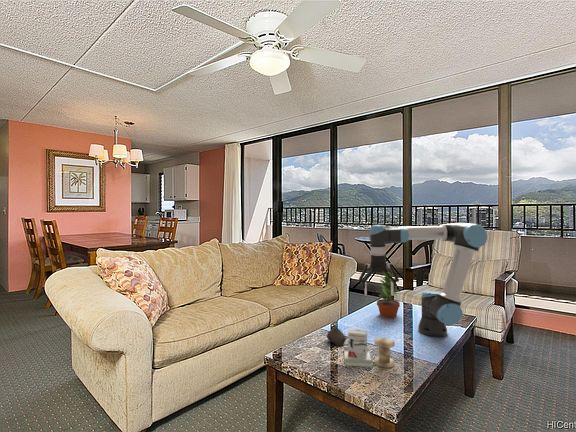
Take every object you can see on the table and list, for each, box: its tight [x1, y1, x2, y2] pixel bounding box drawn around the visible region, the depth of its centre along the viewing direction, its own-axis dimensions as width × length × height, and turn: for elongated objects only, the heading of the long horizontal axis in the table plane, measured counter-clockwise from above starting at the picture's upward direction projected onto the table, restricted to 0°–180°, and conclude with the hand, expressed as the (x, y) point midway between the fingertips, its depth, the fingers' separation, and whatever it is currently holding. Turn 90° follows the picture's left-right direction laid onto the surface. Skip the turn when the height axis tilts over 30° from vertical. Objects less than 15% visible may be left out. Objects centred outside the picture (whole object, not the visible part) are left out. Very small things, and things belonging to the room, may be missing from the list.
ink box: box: [347, 328, 368, 359], centre depth 154 cm, size 8×5×12 cm, turn 73°
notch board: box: [343, 345, 373, 368], centre depth 154 cm, size 12×15×3 cm
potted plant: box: [376, 271, 401, 319], centre depth 213 cm, size 15×15×30 cm
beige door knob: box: [373, 337, 396, 369], centre depth 149 cm, size 9×9×10 cm
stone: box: [326, 327, 347, 347], centre depth 173 cm, size 10×8×10 cm
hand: (379, 294), depth 170 cm, fingers open, 13 cm apart
